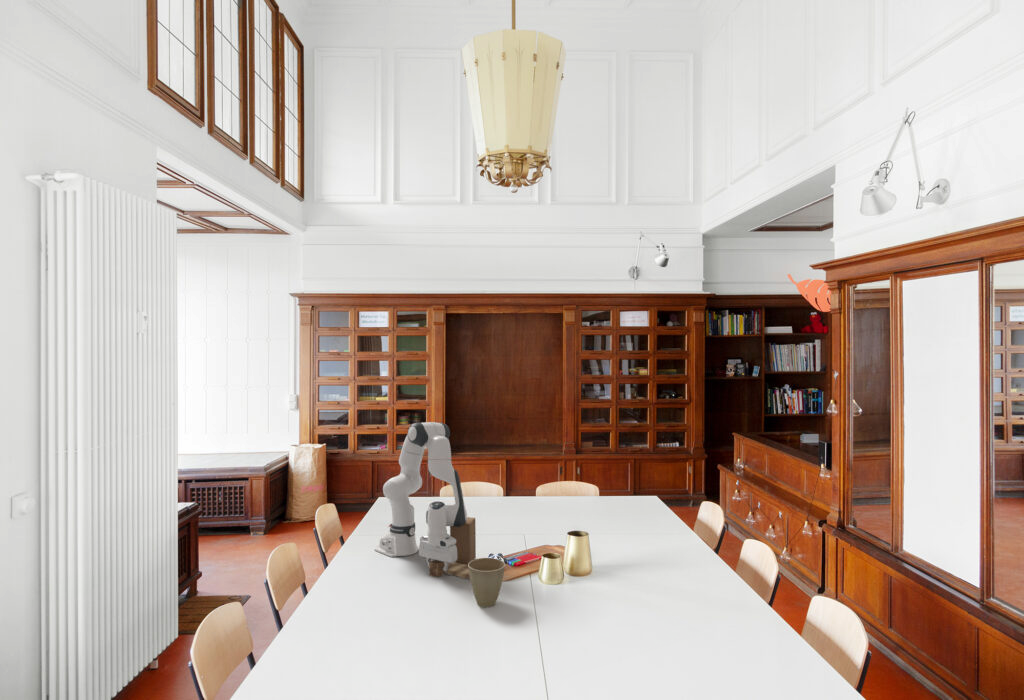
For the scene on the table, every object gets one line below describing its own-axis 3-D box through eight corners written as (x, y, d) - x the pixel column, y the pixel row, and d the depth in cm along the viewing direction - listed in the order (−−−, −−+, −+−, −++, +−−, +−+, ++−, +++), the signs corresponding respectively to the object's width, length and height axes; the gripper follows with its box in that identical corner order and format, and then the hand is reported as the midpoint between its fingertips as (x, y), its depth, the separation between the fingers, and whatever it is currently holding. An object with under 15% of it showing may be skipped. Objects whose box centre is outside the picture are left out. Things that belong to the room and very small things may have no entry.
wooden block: (470, 565, 285) (469, 523, 285) (450, 564, 287) (449, 522, 287) (475, 557, 295) (475, 517, 294) (456, 556, 297) (456, 516, 296)
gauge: (429, 575, 274) (429, 561, 274) (446, 566, 284) (446, 553, 284) (438, 577, 271) (437, 564, 271) (455, 568, 282) (455, 555, 282)
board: (436, 570, 279) (436, 566, 279) (448, 564, 286) (448, 560, 286) (478, 581, 266) (478, 577, 266) (490, 574, 274) (490, 570, 274)
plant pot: (477, 614, 233) (477, 573, 233) (462, 600, 247) (462, 561, 246) (511, 606, 240) (511, 566, 240) (495, 593, 253) (495, 555, 253)
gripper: (415, 537, 277) (415, 567, 277) (450, 544, 266) (450, 575, 266) (424, 533, 283) (425, 562, 283) (459, 540, 272) (459, 571, 272)
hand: (437, 569), depth 274 cm, fingers open, 7 cm apart
